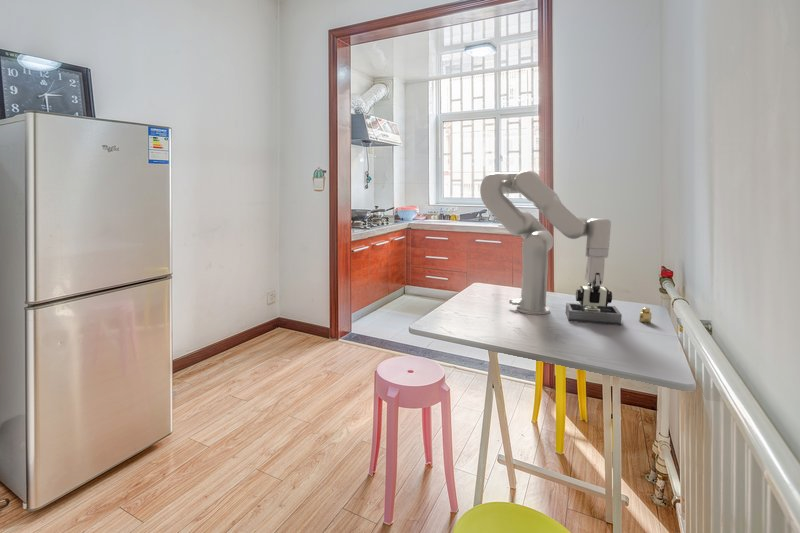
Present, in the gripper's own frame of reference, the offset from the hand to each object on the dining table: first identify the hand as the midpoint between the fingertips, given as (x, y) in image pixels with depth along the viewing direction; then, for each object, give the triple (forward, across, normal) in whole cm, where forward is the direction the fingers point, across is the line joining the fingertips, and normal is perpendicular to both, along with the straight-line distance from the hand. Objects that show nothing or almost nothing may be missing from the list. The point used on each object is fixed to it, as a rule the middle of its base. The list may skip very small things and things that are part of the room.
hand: (592, 300), depth 156 cm
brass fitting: (+7, -1, +18) cm, 20 cm away
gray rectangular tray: (+7, 0, 0) cm, 7 cm away
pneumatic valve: (+6, 0, 0) cm, 6 cm away
